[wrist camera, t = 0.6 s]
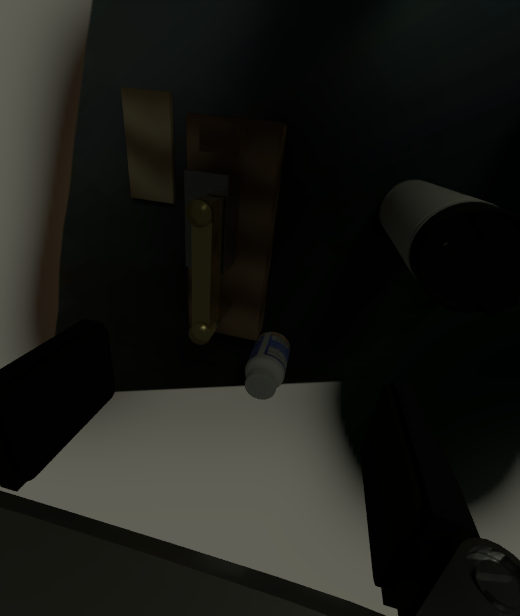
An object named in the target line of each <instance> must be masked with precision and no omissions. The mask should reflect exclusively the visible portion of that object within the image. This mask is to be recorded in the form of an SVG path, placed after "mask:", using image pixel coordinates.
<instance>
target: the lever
mask: <svg viewBox="0 0 520 616" xmlns="http://www.w3.org/2000/svg"><path fill="white" fill-rule="evenodd" d="M185 213H186V218H187V220H188V221H189V223H190V224H191V250H192V327H191V328H190V329H189V332H188V335H189V338H190V339H191V340H192V341H193V342H194V343H196V344H198V345H204V344H206V343H207V342H208V341H209V339H210V338H211V336H212V335H213V333H214V332H215V330H216V329H217V328H218V326H219V325H220V323H221V322H222V320H223V319H224V317H225V316H226V314H227V313H228V311H229V310H230V308H231V307H232V302H231V299H230V298H229V297H228V296H226V295H219V292H220V268H221V244H222V220H223V198H220V197H213V196H206V195H203V196H200V197H197V198H194V199H191V201H190V202H189V203H188V205H187V206H186V210H185Z"/></svg>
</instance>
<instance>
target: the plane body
mask: <svg viewBox="0 0 520 616" xmlns="http://www.w3.org/2000/svg"><path fill="white" fill-rule="evenodd" d="M186 125H187V169H196V168H208V169H215V170H223V171H231V172H238V173H241V185H240V201H239V216H238V231H237V246H236V261H235V262H234V263H233V264H232V265H231V266H230V267H229V269H228V270H227V271H226V272H225V273H224V274H223V273H220V292H219V295H226V296H228V297H229V298H230V299H231V302H232V307H231V308H230V310H229V311H228V313H227V314H226V316H225V317H224V319H223V320H222V322H221V323H220V325H219V326H218V328H217V329H216V330H215V332H217V333H221V334H226V335H231V336H236V337H240V338H245V339H250V340H255V341H257V339H258V336H259V334H260V332H261V329H262V327H263V320H264V312H265V303H266V295H267V287H268V279H269V271H270V263H271V254H272V246H273V238H274V230H275V222H276V214H277V206H278V197H279V189H280V181H281V173H282V165H283V157H284V149H285V140H286V132H287V125H285V124H284V123H282V122H273V121H263V120H253V119H244V118H234V117H224V116H214V115H205V114H195V113H186ZM188 296H189V327H192V268H190V267H188Z"/></svg>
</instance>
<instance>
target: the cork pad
mask: <svg viewBox="0 0 520 616" xmlns="http://www.w3.org/2000/svg"><path fill="white" fill-rule="evenodd" d="M121 94H122V105H123V115H124V126H125V136H126V147H127V158H128V168H129V179H130V189H131V198H138V199H145V200H152V201H158V202H165V203H172V204H174V203H175V171H174V137H173V103H172V93H171V92H166V91H155V90H144V89H133V88H122V87H121Z"/></svg>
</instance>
